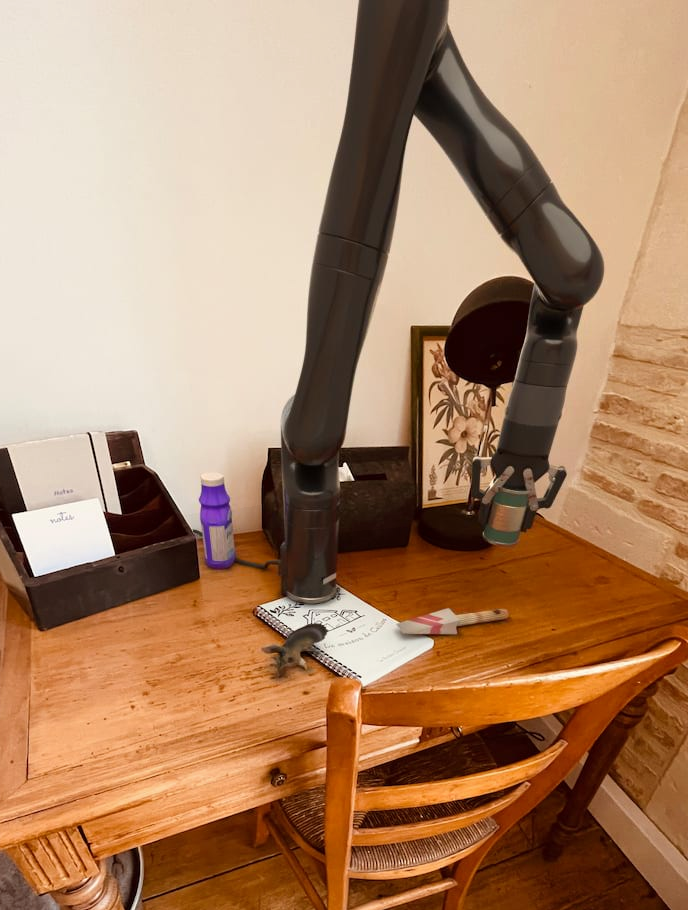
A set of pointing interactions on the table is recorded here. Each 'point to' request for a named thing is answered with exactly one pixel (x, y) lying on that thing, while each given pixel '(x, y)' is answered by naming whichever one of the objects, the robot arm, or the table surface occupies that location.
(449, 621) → the paintbrush
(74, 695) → the table surface
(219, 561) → the bottle
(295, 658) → the bushy tailed squirrel toy
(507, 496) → the tin can
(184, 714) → the table surface
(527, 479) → the robot arm
